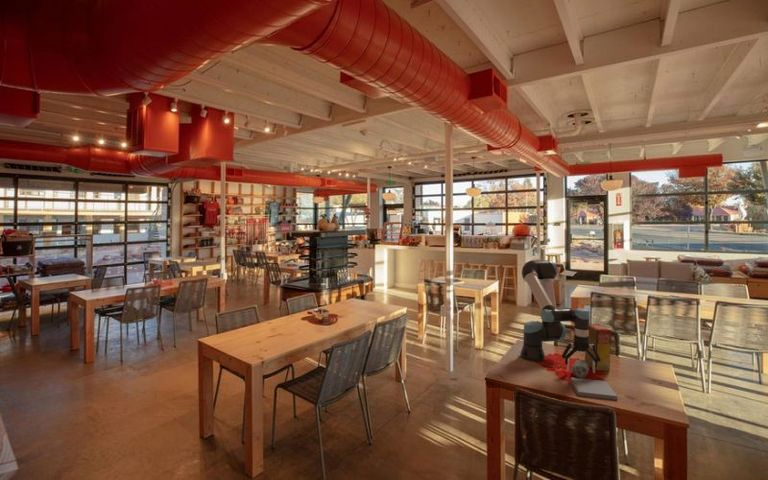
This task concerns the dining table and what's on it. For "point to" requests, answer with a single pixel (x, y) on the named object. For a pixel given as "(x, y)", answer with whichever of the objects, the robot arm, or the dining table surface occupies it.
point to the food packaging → (599, 346)
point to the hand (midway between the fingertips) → (580, 371)
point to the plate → (593, 388)
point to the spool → (580, 368)
